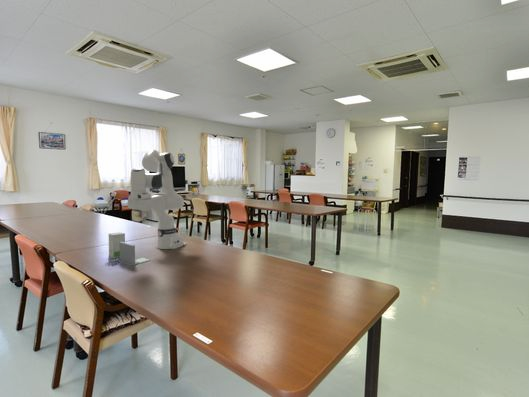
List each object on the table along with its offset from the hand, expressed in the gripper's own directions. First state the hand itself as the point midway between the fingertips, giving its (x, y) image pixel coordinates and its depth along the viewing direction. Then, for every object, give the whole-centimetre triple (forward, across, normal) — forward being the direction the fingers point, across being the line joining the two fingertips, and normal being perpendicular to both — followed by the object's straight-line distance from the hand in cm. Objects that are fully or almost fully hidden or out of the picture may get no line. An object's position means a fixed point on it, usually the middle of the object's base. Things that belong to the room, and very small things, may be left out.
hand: (139, 216), depth 179 cm
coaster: (+28, +1, 0) cm, 28 cm away
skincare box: (+29, -20, -4) cm, 35 cm away
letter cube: (+2, 0, 0) cm, 2 cm away
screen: (+28, -3, -7) cm, 29 cm away
